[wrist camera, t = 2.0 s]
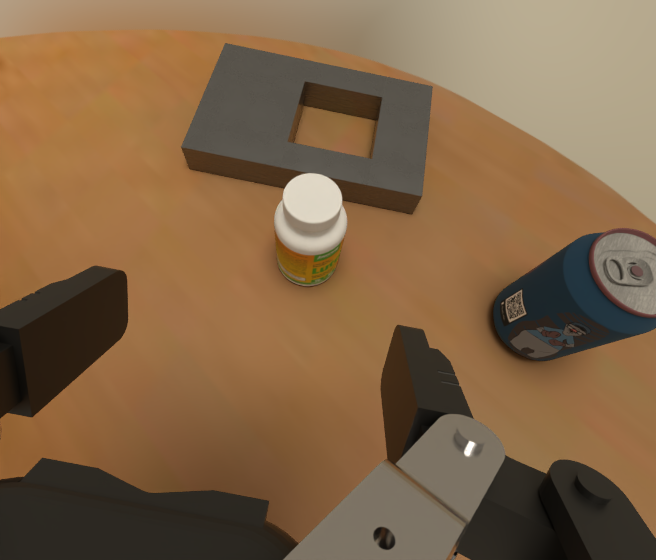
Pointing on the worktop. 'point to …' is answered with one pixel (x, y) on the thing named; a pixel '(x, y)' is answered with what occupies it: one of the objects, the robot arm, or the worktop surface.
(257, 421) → the worktop surface
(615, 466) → the worktop surface
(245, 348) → the worktop surface
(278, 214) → the supplement bottle
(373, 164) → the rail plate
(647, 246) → the soda can
